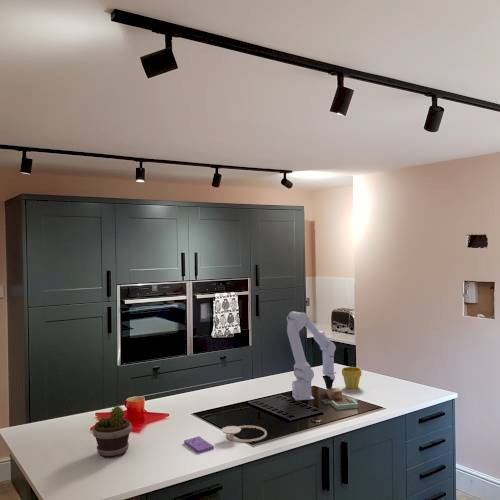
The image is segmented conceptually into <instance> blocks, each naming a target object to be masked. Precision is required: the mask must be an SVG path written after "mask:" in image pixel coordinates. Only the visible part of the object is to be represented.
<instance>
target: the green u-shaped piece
mask: <svg viewBox="0 0 500 500" xmlns="http://www.w3.org/2000/svg"><path fill="white" fill-rule="evenodd" d="M346 400H347V401H349V402H350V403H343V404H338V403H337V402H335V401H334V399H330V398H328V399H322V400H321V402H322V403H323V404H324V405H325V406H326V405H331V406H333V408H335V410H337V411H338V410H347V409H349V410H350V409H358V408H359V403H358V400H357V399H356V398H354V397H353V396H352V397H346Z"/></svg>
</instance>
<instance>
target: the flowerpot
mask: <svg viewBox="0 0 500 500" xmlns="http://www.w3.org/2000/svg"><path fill="white" fill-rule="evenodd" d="M108 413H109V415H106V414H104V415H103V414H102V417H100V418H99V419H98V421H97V422H95V424H94V426H93V428H92V436H93V437H94V438H95V440H96V443H97V446H96V451H97V453H98V455H100V457H102V458H103V457H104V459H107V458H108V459H113V458H119V457H121V456H124V455H125V454H126V453H127V451H128V450H129V446H130V443H129V438H130V433H131V432H132V431H133V426H132V423H131V422H130V421H129V419H127V418H126V417H125V414H126V412H125V410H124V408H123V407H122V406H121V405H120V404H119V403H117V404H116V405H114V406H113V408H111V410H110V411H109V412H108Z"/></svg>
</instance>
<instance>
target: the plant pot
mask: <svg viewBox="0 0 500 500" xmlns="http://www.w3.org/2000/svg"><path fill="white" fill-rule="evenodd" d="M341 375H342V377H343V381H344V385H345V388H347V389H351V390H352V389H358V388H359V384H360V379H361V377H362V369H361V368H360V367H356V366H345V367H343V368H341Z"/></svg>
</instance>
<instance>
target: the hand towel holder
mask: <svg viewBox="0 0 500 500" xmlns="http://www.w3.org/2000/svg"><path fill="white" fill-rule="evenodd" d="M255 428H256V429H255ZM242 429H255V430H260V431H261V432H262V431H263V435H262V436H260V437H256V438H252V439H251V438H250V439H242V438H241V439H240V438H236V437H234V435H235V434H238V433H239V434H240V432H241V430H242ZM221 432H222V433H223V434H225V435H226V437H227V439H228V440H229V441H233V442H237V443H254V442H257V441H261V440H264V439H265V438H266V437H267V435H268V432H267V430H266V429H265V428H263V427H261V426H257V425H239V426H236V425H227V426H225V427H222V428H221ZM253 441H254V442H253Z"/></svg>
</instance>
